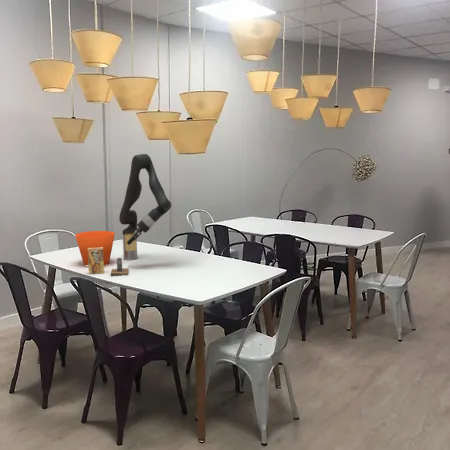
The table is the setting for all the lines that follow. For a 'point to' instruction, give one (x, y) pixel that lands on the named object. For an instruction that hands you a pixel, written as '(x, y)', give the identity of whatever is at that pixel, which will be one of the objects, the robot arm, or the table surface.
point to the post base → (115, 273)
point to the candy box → (95, 260)
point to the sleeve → (133, 244)
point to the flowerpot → (95, 243)
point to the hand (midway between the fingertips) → (128, 242)
